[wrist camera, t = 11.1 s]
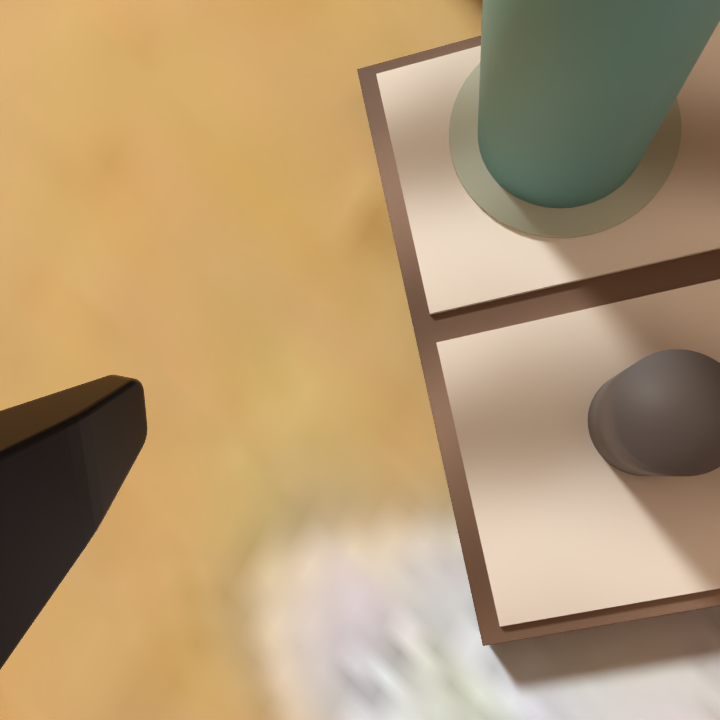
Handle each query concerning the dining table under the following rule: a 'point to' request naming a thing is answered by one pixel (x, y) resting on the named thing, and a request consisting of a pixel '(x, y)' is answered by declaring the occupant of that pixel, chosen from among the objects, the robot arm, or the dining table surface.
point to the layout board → (563, 354)
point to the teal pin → (580, 89)
